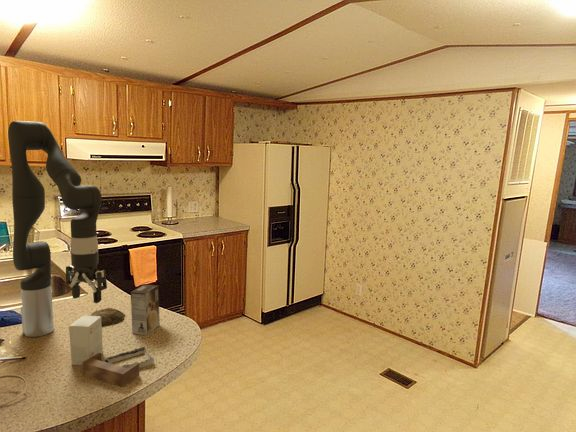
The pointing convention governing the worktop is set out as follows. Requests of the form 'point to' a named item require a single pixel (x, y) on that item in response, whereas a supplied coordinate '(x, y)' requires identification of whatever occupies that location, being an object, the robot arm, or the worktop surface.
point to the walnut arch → (109, 371)
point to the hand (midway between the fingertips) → (86, 300)
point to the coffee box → (145, 309)
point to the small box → (85, 338)
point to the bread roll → (109, 316)
